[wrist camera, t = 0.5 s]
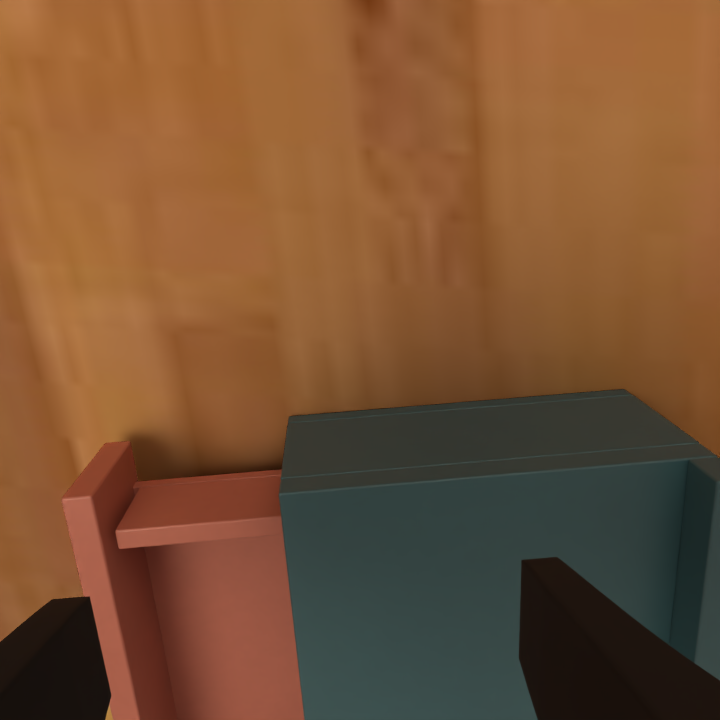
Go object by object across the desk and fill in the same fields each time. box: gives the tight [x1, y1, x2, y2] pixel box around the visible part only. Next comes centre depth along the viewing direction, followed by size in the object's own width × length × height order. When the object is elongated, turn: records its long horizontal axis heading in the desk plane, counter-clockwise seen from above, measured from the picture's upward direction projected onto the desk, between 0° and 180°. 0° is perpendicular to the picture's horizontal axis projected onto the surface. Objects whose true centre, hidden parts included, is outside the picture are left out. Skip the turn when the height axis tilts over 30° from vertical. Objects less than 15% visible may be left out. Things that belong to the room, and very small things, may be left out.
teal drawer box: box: [279, 389, 720, 720], centre depth 19 cm, size 16×11×6 cm
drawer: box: [62, 441, 304, 720], centre depth 20 cm, size 16×12×3 cm
